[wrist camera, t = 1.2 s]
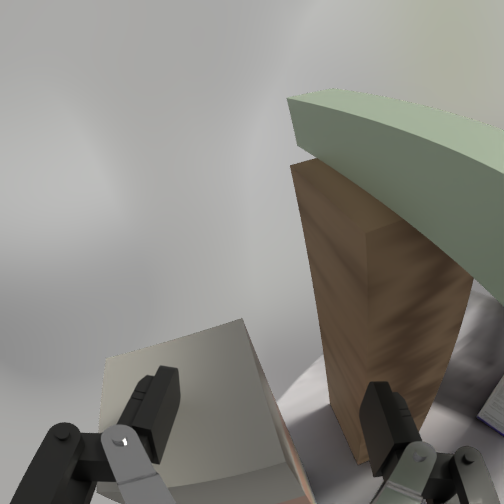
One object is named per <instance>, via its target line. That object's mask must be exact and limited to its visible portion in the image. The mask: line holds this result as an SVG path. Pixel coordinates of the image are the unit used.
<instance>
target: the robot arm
mask: <svg viewBox="0 0 504 504" xmlns="http://www.w3.org/2000/svg"><path fill="white" fill-rule="evenodd" d="M180 398H181V393H180V382H179V371H178V368H175V367H168V366H162V365H160V366H159V368H158V370H157V372H156V374H155V376H151V375H146V376H145V377H144V378H142V379H141V380H140V381H138V383H137V385H136V387H135V389H134V392H133V393H132V395H131V397H130V399H129V401H128V403H127V405H126V406H125V408H124V410H123V412H122V414H121V416H120V418H119V420H118V422H117V424H116V425H113V426H110V427H108V428H107V429H105V430H104V432H103V433H80V431H79V429H78V428H77V427H76V426H75V425H73V424H71V423H65V422H64V423H58V424H56V425H54V426H52V427H51V428H50V429H49V431H48V433H47V434H46V436H45V438H44V440H43V442H42V443H41V445H40V447H39V449H38V450H37V452H36V454H35V456H34V458H33V460H32V461H31V463H30V465H29V467H28V469H27V471H26V473H25V475H24V476H23V478H22V480H21V482H20V484H19V486H18V488H17V490H16V492H15V494H14V496H13V498H12V500H11V502H10V504H90V502H91V499H92V496H93V493H94V491H95V488H96V485H97V482H117V485H118V488H119V490H120V492H121V495H122V497H123V499H124V501H125V503H126V504H177V503H176V502H175V500H174V498H173V497H172V495H171V493H170V492H169V490H168V488H167V487H166V485H165V483H164V481H163V480H162V478H161V476H160V475H159V473H157V472H156V471H155V469H154V467H153V465H152V463H153V464H158V465H160V463H161V460H162V457H163V454H164V451H165V448H166V445H167V442H168V439H169V435H170V432H171V429H172V426H173V424H174V421H175V418H176V415H177V412H178V409H179V405H180ZM408 409H409V408H408V405H407V403H406V401H405V399H404V398H403V397H402V396H401V395H400V394H399V393H398V392H392V390H391V387H390V385H389V383H388V382H387V381H371V382H370V383H369V384H368V387H367V389H366V392H365V395H364V398H363V400H362V403H361V405H360V409H359V419H360V423H361V427H362V431H363V435H364V439H365V443H366V447H367V452H368V456H369V460H370V464H371V468H372V473H373V477H380V476H383V480H384V481H383V483H382V484H381V486H380V488H379V489H378V491H377V492H376V494H375V495H374V497H373V499H372V500H371V502H370V503H369V504H420V503H421V501H422V499H426V502H427V504H500V501H499V498H498V496H497V493H496V490H495V488H494V485H493V482H492V480H491V477H490V475H489V472H488V470H487V467H486V465H485V463H484V460H483V458H482V456H481V454H480V452H479V451H478V450H476V449H475V448H473V447H469V446H464V447H461V448H459V449H458V450H457V451H456V452H455V454H445V453H437V452H436V451H435V449H434V448H433V447H432V446H431V445H430V444H428V443H426V442H423V441H422V439H421V437H420V434H419V432H418V429H417V427H416V424H415V422H414V420H413V417H411V412H410V410H408Z"/></svg>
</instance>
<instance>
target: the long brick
mask: <svg viewBox="0 0 504 504" xmlns="http://www.w3.org/2000/svg"><path fill="white" fill-rule="evenodd" d="M287 101H288V106H289V110H290V114H291V119H292V123H293V128H294V132H295V136H296V141H297V146H299V147H301V148H302V149H304V150H305V151H307V152H308V153H310V154H312V155H313V156H315V157H316V158H318V159H319V160H321V161H322V162H324V163H325V164H327V165H329V166H330V167H332V168H333V169H335V170H336V171H338V172H339V173H341V174H342V175H343V176H345V177H346V178H348V179H349V180H351V181H352V182H354V183H355V184H357V185H358V186H359V187H361V188H362V189H364V190H365V191H366V192H368V193H369V194H371V195H372V196H373V197H375V198H376V199H378V200H379V201H380V202H382V203H383V204H384V205H386V206H387V207H388V208H390V209H391V210H392V211H394V212H395V213H396V214H398V215H399V216H400V217H402V218H403V219H404V220H405V221H407V222H408V223H409V224H411V225H412V226H413V227H414V228H416V229H417V230H418V231H419V232H421V233H422V234H423V235H424V236H426V237H427V238H428V239H429V240H431V241H432V242H433V243H434V244H435V245H437V246H438V247H439V248H440V249H441V250H443V251H444V252H445V253H446V254H447V255H448V256H450V257H451V258H452V259H453V260H454V261H455V262H457V263H458V264H459V265H460V266H461V267H462V268H463V269H464V270H466V271H467V272H468V273H469V274H470V275H471V276H472V277H473V278H474V279H475V280H477V281H478V282H479V283H480V284H481V285H482V286H483V287H484V288H485V289H486V290H487V291H488V292H490V293H491V294H492V296H494V297H495V298H496V299H497V300H498V301H499V302H500V303H501V304H502V305H503V306H504V130H501V129H499V128H496V127H493V126H491V125H488V124H485V123H482V122H479V121H476V120H473V119H470V118H466V117H463V116H460V115H457V114H453V113H449V112H446V111H443V110H439V109H435V108H431V107H428V106H424V105H420V104H416V103H411V102H406V101H402V100H397V99H393V98H388V97H383V96H378V95H372V94H366V93H361V92H354V91H348V90H341V89H328V90H323V91H317V92H312V93H307V94H302V95H298V96H293V97H289V98H287Z"/></svg>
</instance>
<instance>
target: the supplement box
mask: <svg viewBox="0 0 504 504" xmlns="http://www.w3.org/2000/svg"><path fill="white" fill-rule="evenodd" d="M477 418H478V419H479V420H481V421H482V422H484V423H485V424H487V425H488V426H490V427H491V428H492V429H494V430H495V431H496V432H498V433H499V434H501V435H502V436H504V375H503V377H502V378H501V380H500V381H499V383H498V385H497V386H496V387H495V389H494V390H493V392H492V393H491V395H490V396H489V398H488V400H487V401H486V403H485V404H484V406H483V407H482V409H481V410H480V412H479V413H478V415H477Z"/></svg>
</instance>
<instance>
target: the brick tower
mask: <svg viewBox="0 0 504 504" xmlns="http://www.w3.org/2000/svg"><path fill="white" fill-rule="evenodd" d="M160 365H162V366H168V367H175V368H178V371H179V382H180V393H181V398H180V405H179V409H178V412H177V415H176V418H175V421H174V424H173V426H172V429H171V432H170V435H169V439H168V442H167V445H166V448H165V451H164V454H163V457H162V460H161V463H160V465H158V464H153V463H152V465H153V467H154V469H155V471H156V472H157V473H159V475H160V476H161V478H162V480H163V481H164V483H165V485H166V487H167V488H168V490H169V492H170V493H171V495H172V497H173V498H174V500H175V502H176V503H177V504H317V502H316V499H315V496H314V494H313V491H312V488H311V485H310V482H309V480H308V477H307V474H306V471H305V469H304V466H303V464H302V462H301V460H300V457H299V455H298V453H297V450H296V448H295V446H294V443H293V441H292V439H291V436H290V434H289V432H288V429H287V427H286V425H285V422H284V420H283V418H282V415H281V413H280V410H279V408H278V406H277V403H276V401H275V398H274V396H273V394H272V391H271V389H270V387H269V384H268V382H267V379H266V377H265V374H264V372H263V369H262V367H261V364H260V362H259V359H258V357H257V354H256V352H255V350H254V347H253V344H252V342H251V339H250V337H249V334H248V332H247V329H246V327H245V324H244V321H243V319H242V318H241V319H238V320H235V321H232V322H229V323H226V324H223V325H220V326H216V327H213V328H210V329H207V330H204V331H200V332H197V333H194V334H191V335H188V336H184V337H181V338H177V339H174V340H171V341H167V342H164V343H160V344H157V345H153V346H150V347H146V348H143V349H139V350H136V351H132V352H129V353H125V354H121V355H117V356H113V357H110V358H107V359H106V363H105V371H104V379H103V388H102V397H101V407H100V420H99V432H98V433H103V432H104V430H105V429H107V428H108V427H110V426H113V425H116V424H117V422H118V420H119V418H120V416H121V414H122V412H123V410H124V408H125V406H126V405H127V403H128V401H129V399H130V397H131V395H132V393H133V392H134V389H135V387H136V385H137V383H138V381H140V380H141V379H142V378H144V377H145V376H146V375H151V376H155V374H156V372H157V370H158V368H159V366H160ZM97 493H99V494H101V495H103V496H105V497H107V498H109V499H111V500H114V501H116V502H118V503H121V504H126V503H125V501H124V499H123V497H122V495H121V492H120V490H119V488H118V485H117V482H97Z"/></svg>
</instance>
